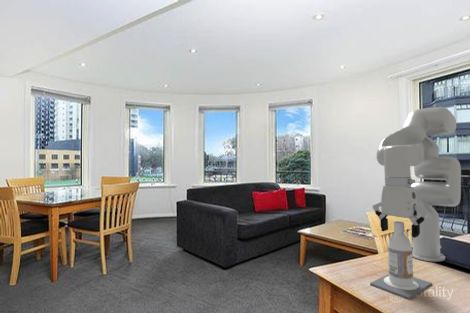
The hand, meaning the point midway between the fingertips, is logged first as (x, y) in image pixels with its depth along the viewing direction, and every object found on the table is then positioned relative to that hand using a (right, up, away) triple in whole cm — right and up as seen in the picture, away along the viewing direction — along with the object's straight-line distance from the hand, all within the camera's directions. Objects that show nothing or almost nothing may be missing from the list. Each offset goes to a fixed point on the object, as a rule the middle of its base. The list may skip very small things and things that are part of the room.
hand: (399, 233), depth 92 cm
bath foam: (0, -17, 0) cm, 17 cm away
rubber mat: (0, -17, 0) cm, 17 cm away
